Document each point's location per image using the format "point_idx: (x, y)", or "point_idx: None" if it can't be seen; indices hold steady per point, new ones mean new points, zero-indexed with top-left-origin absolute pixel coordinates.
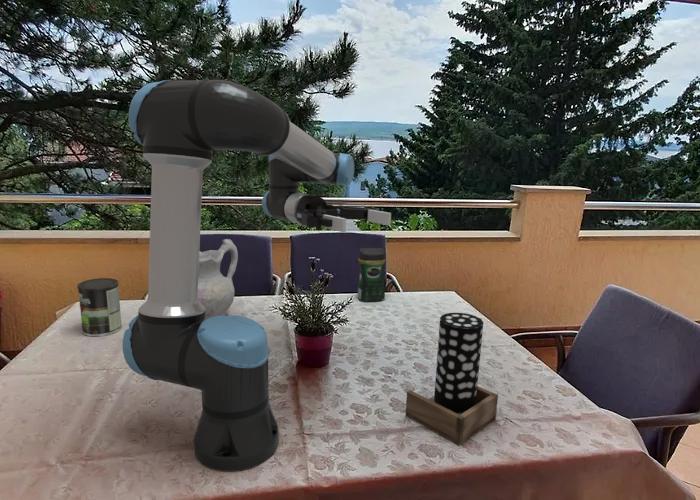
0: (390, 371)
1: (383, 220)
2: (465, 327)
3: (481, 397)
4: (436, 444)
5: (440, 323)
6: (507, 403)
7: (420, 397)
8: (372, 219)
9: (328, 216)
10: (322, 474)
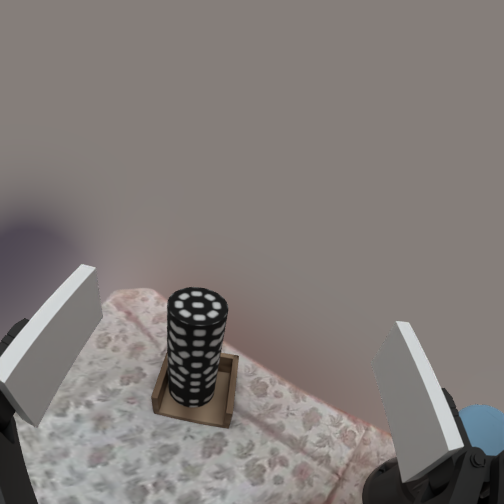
0: (138, 488)
1: (85, 322)
2: (218, 297)
3: None
4: (248, 387)
5: (217, 325)
6: (133, 357)
7: (232, 397)
8: (48, 387)
9: (446, 406)
10: (355, 426)
